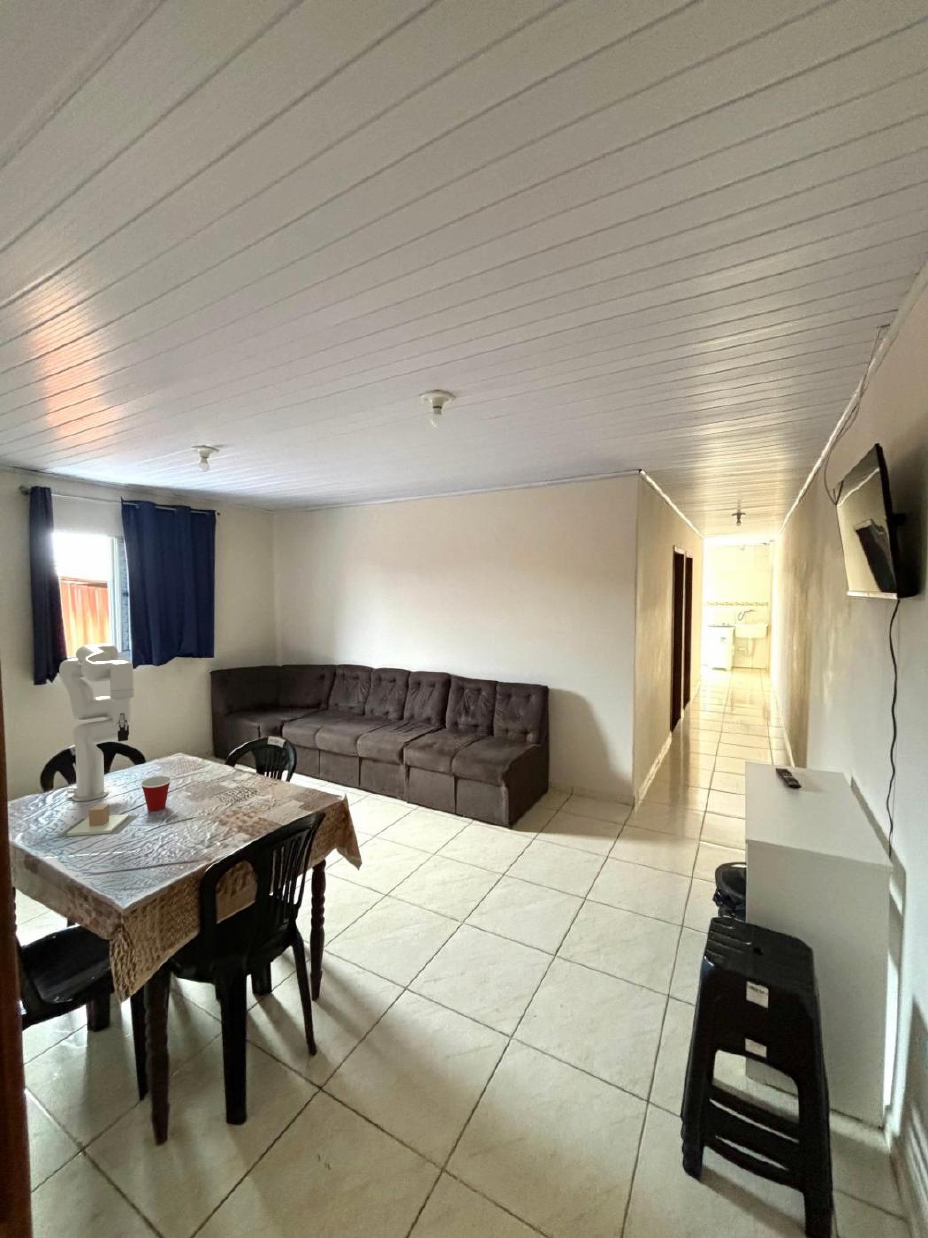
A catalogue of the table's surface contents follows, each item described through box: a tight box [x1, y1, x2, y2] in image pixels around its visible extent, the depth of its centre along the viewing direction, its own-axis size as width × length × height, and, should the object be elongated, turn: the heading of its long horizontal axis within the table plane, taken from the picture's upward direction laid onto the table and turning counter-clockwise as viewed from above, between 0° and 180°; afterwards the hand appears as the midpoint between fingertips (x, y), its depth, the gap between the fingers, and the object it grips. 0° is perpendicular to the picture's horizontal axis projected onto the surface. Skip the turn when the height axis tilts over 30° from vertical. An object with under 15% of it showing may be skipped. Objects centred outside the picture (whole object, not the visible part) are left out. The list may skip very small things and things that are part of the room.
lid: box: [67, 804, 130, 836], centre depth 189 cm, size 14×14×7 cm
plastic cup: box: [139, 775, 172, 812], centre depth 205 cm, size 11×11×12 cm
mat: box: [55, 815, 140, 839], centre depth 189 cm, size 20×16×1 cm
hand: (123, 738), depth 198 cm, fingers open, 9 cm apart
